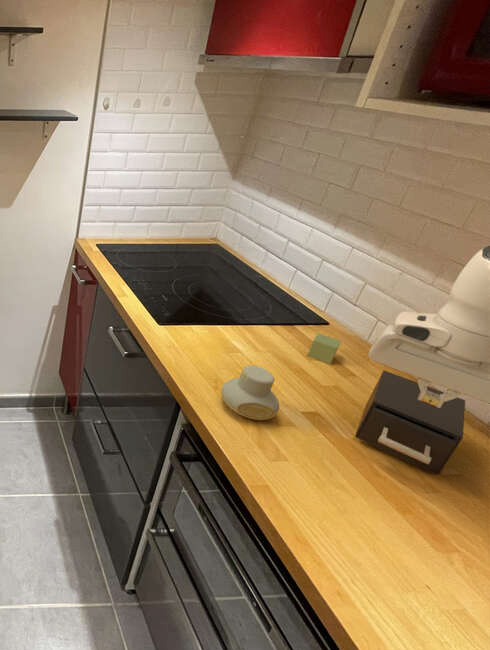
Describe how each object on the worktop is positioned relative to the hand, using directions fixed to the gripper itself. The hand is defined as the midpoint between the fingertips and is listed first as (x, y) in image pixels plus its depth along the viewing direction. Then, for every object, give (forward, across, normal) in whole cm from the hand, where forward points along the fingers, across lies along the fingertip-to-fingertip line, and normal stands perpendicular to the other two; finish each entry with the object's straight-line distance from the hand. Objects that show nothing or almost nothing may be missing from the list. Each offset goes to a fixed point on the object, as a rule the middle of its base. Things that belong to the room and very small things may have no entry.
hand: (428, 402), depth 80 cm
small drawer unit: (+16, 0, -12) cm, 20 cm away
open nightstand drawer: (+15, 0, -7) cm, 17 cm away
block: (+16, +17, -33) cm, 41 cm away
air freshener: (+16, +24, +4) cm, 30 cm away
